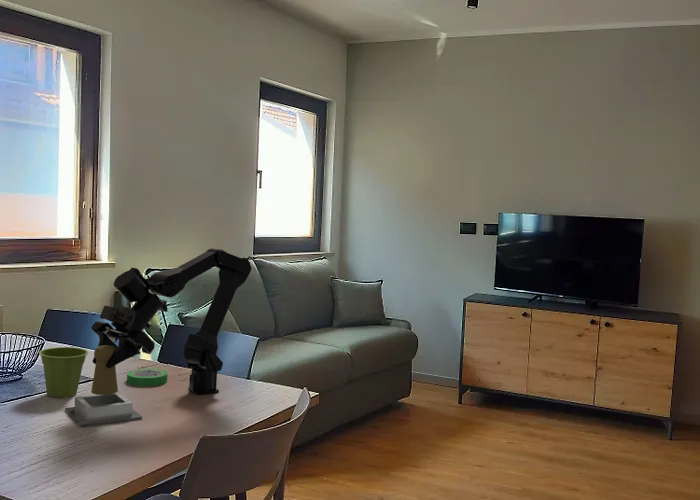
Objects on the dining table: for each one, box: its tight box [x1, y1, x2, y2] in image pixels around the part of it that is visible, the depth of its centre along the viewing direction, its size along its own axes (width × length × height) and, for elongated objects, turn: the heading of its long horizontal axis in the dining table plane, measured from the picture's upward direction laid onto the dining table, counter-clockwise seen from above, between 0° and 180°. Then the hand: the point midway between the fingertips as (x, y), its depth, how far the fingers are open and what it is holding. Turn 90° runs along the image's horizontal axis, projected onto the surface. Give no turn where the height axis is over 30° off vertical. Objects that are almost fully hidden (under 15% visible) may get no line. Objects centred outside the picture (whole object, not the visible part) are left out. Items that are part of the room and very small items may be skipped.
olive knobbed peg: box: [90, 345, 119, 395], centre depth 166 cm, size 6×6×11 cm
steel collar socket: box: [64, 391, 143, 428], centre depth 166 cm, size 14×14×4 cm
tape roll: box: [126, 368, 168, 387], centre depth 198 cm, size 11×11×3 cm
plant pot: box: [38, 346, 89, 399], centre depth 181 cm, size 12×12×11 cm
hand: (100, 365), depth 165 cm, fingers closed on olive knobbed peg, 5 cm apart
